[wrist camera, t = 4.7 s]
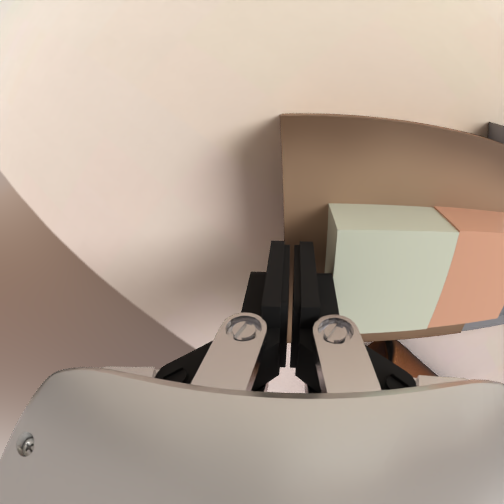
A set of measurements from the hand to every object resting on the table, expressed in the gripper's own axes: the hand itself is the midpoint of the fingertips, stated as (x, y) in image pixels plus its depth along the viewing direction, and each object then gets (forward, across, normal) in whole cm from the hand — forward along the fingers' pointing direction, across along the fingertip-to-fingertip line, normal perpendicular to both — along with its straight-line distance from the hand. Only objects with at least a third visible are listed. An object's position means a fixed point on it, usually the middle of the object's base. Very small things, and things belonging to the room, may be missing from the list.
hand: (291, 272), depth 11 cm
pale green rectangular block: (+1, -4, 0) cm, 4 cm away
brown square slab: (+4, -6, 0) cm, 7 cm away
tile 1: (+1, -9, 0) cm, 9 cm away
